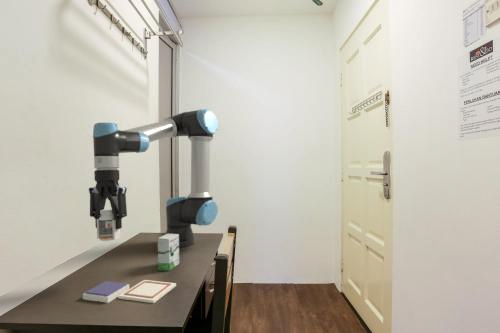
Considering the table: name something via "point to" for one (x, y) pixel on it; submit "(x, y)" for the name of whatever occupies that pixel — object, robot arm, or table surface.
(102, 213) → the pill bottle
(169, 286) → the print card
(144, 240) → the table surface
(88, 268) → the table surface
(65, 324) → the table surface
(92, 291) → the ink pad
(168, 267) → the ink box
